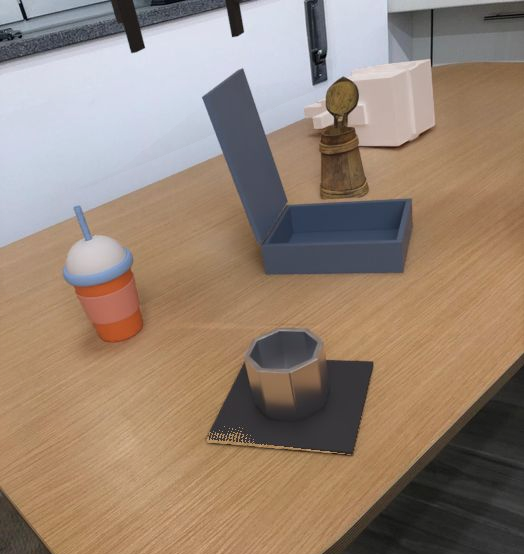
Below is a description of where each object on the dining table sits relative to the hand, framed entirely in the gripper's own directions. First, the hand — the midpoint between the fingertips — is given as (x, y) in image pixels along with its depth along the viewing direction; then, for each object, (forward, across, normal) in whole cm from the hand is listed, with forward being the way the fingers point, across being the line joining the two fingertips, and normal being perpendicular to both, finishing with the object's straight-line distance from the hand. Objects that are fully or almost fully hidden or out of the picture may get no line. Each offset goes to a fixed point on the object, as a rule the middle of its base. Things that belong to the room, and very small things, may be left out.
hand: (186, 43), depth 74 cm
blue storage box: (+32, +16, +4) cm, 35 cm away
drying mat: (+32, +16, -30) cm, 47 cm away
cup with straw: (+32, -12, -17) cm, 38 cm away
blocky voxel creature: (+32, +12, +62) cm, 70 cm away
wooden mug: (+32, +12, +31) cm, 46 cm away
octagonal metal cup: (+31, +16, -30) cm, 46 cm away
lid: (+16, +5, +4) cm, 17 cm away
